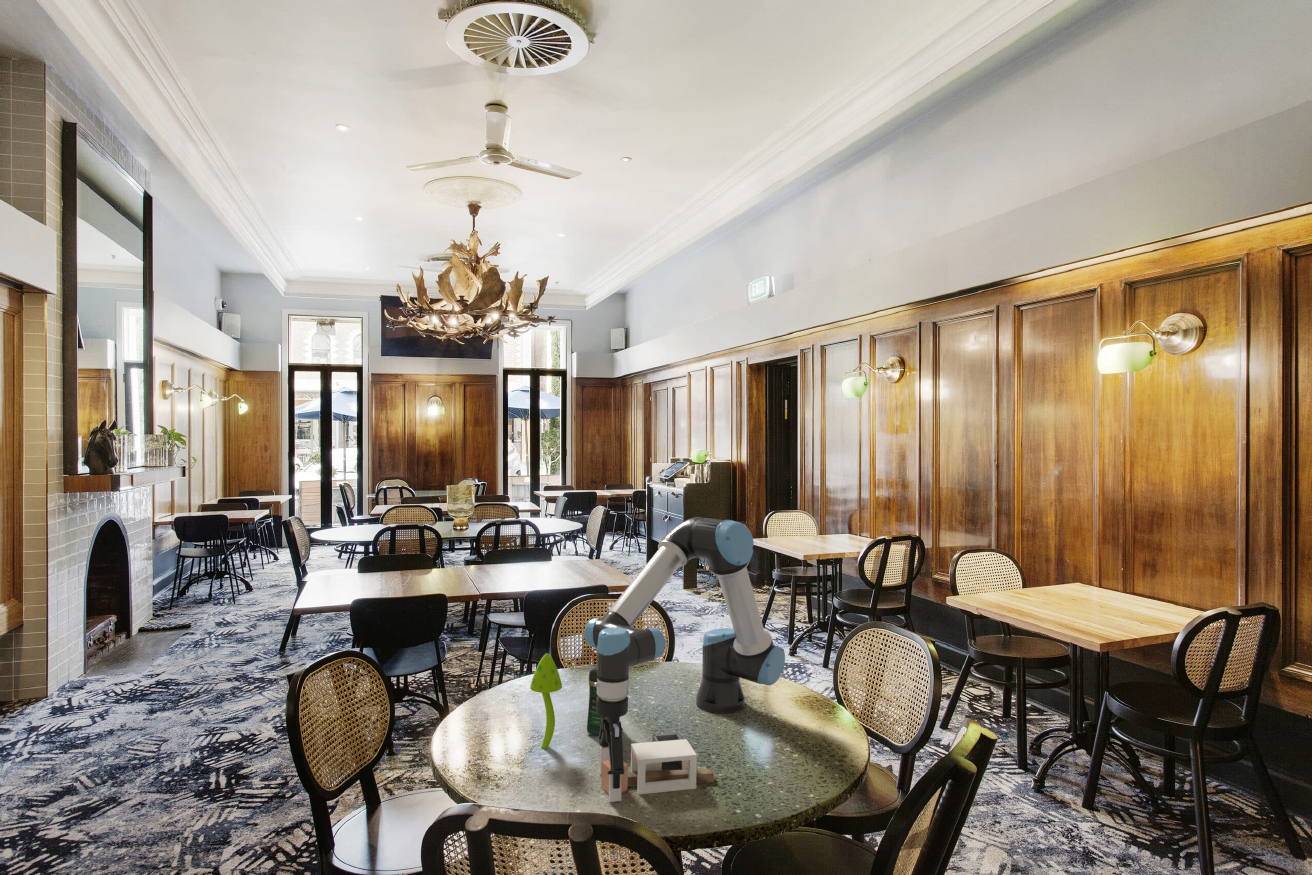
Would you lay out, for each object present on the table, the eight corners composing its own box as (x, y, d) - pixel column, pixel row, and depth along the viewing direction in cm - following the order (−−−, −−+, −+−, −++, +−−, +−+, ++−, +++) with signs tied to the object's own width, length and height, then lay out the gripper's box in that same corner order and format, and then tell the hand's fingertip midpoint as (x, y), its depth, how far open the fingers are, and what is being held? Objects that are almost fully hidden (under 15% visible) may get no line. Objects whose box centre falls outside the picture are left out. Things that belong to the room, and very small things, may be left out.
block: (617, 782, 170) (618, 757, 170) (627, 790, 166) (627, 764, 166) (601, 787, 167) (601, 761, 167) (610, 795, 163) (611, 769, 163)
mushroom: (532, 739, 192) (534, 647, 192) (563, 740, 192) (565, 648, 192) (525, 753, 184) (527, 657, 184) (557, 754, 184) (559, 658, 184)
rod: (711, 778, 173) (711, 768, 173) (713, 783, 171) (713, 773, 171) (621, 782, 170) (621, 772, 170) (622, 787, 168) (622, 777, 168)
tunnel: (679, 760, 182) (679, 729, 182) (696, 788, 167) (696, 754, 167) (625, 764, 179) (626, 733, 179) (638, 794, 164) (639, 759, 164)
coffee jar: (607, 740, 193) (608, 672, 193) (582, 734, 196) (583, 667, 196) (624, 727, 202) (625, 662, 202) (600, 722, 205) (601, 658, 205)
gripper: (588, 679, 178) (586, 764, 178) (605, 716, 154) (602, 815, 154) (618, 677, 180) (616, 762, 180) (638, 714, 156) (636, 811, 156)
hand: (609, 786), depth 167 cm, fingers open, 12 cm apart
